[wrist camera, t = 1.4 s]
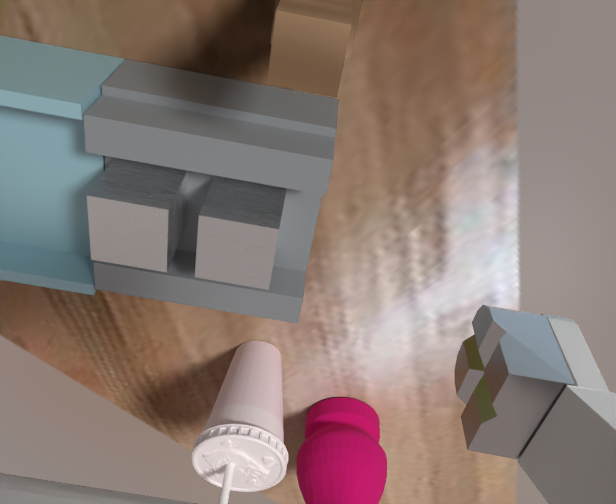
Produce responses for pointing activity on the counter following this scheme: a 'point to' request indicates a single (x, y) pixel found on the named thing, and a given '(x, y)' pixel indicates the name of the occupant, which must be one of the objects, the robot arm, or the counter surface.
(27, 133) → the tray
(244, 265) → the grey cube
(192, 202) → the groove board
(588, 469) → the robot arm
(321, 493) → the pepper mill
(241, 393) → the smoothie
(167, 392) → the counter surface
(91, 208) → the light grey cube
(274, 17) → the brown bar
